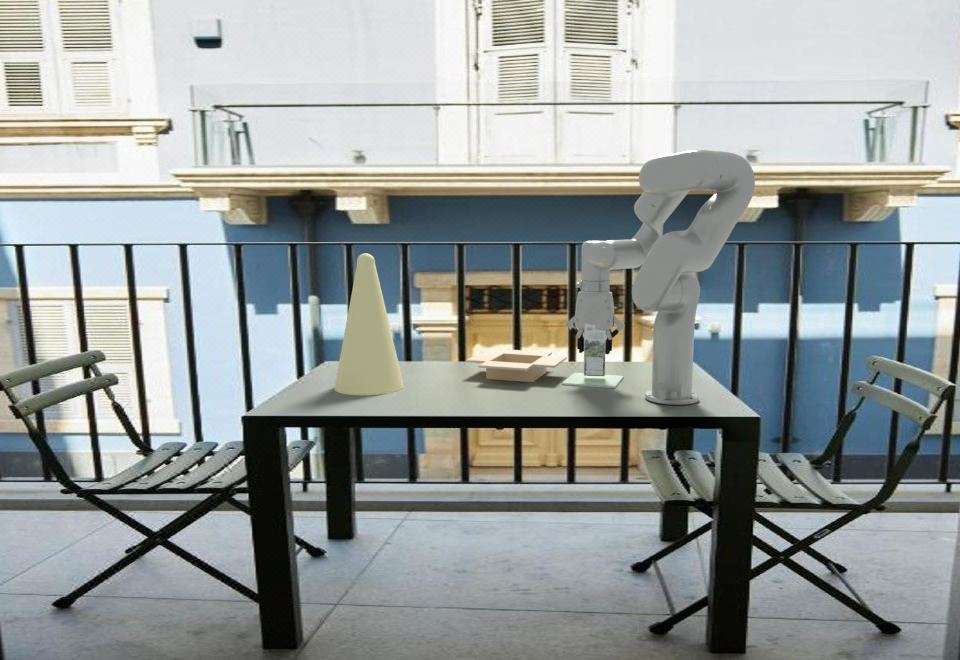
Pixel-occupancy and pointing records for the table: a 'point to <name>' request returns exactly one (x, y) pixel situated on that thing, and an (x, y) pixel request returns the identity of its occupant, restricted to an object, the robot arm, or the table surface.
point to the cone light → (367, 339)
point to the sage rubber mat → (593, 380)
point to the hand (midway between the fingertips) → (594, 352)
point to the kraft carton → (516, 364)
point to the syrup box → (594, 351)
